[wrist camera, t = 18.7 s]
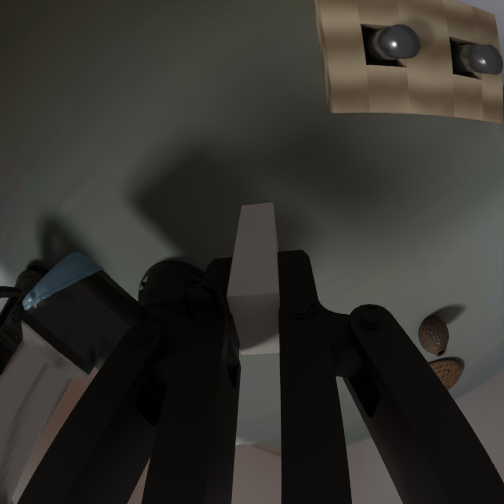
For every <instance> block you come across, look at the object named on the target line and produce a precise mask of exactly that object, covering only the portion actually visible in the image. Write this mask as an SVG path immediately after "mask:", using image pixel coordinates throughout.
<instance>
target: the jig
mask: <svg viewBox="0 0 504 504" xmlns="http://www.w3.org/2000/svg"><path fill="white" fill-rule="evenodd" d="M312 1H313V7H314V12H315V18H316V24H317V30H318V36H319V42H320V49H321V56H322V64H323V71H324V80H325V88H326V98H327V108H328V110H329V111H330V112H332V113H408V114H425V115H438V116H449V117H458V118H466V119H474V120H481V121H487V122H493V123H499V124H503V84H502V71H501V73H500V74H498V75H492V74H484V73H475V72H467V77H465V76H460V75H455V74H453V69H452V58H451V49H450V41H452V42H456V43H460V44H464V45H478V44H489V45H492V46H494V47H495V48H496V49H497V50H498V51H499V53H500V47H499V40H498V32H497V26H496V21H495V15H494V14H491V13H489V12H486V11H484V10H481V9H478V8H476V7H473V6H470V5H467V4H464V3H461V2H458V1H455V0H312ZM397 24H403V25H406V26H408V27H410V28H411V29H413V30H414V31H415V32H416V34H417V35H418V37H419V40H420V44H421V47H420V51H419V53H418V54H417V55H416V56H415V57H413V58H408V59H395V60H394V64H395V67H393V66H378V65H366V60H365V52H364V44H363V37H362V31H361V29H374V30H382V29H385V28H388V27H391V26H393V25H397Z"/></svg>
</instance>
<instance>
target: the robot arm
mask: <svg viewBox="0 0 504 504" xmlns="http://www.w3.org/2000/svg"><path fill="white" fill-rule="evenodd" d="M23 306H24V309H25V310H26V311H27V310H28V312H27V314H26V315H25V317H24V318H23V320H22V321H21V326H22V333H23V340H22V341H21V343H20V344H19V346H18V348H17V349H16V351H15V352H14V354H13V356H12V357H11V359H10V361H9V362H8V364H7V366H6V367H5V369H4V371H3V373H2V374H1V376H0V504H14V503H13V501H12V499H11V498H12V496H13V494H14V491H15V489H16V487H17V485H18V482H19V480H20V478H21V475H22V474H23V471H24V469H25V467H26V465H27V463H28V461H29V459H30V457H31V455H32V453H33V451H34V449H35V447H36V445H37V443H38V441H39V439H40V437H41V435H42V433H43V431H44V430H45V428H46V426H47V424H48V422H49V420H50V418H51V417H52V415H53V413H54V411H55V410H56V408H57V406H58V404H59V403H60V401H61V399H62V397H63V396H64V394H65V392H66V390H67V389H68V387H69V385H70V384H71V382H72V381H73V380H74V379H78V378H85V377H88V376H89V374H90V373H91V371H92V369H93V368H94V367H96V368H97V369H99V371H98V373H97V374H96V376H95V377H94V379H93V380H92V382H91V383H90V385H89V386H88V388H87V389H86V391H85V392H84V394H83V395H82V397H81V398H80V400H79V401H78V403H77V404H76V406H75V407H74V409H73V410H72V412H71V413H70V415H69V417H68V418H67V420H66V421H65V423H64V424H63V426H62V428H61V429H60V431H59V432H58V434H57V436H56V437H55V439H54V440H53V442H52V444H51V445H50V447H49V449H48V450H47V452H46V454H45V455H44V457H43V459H42V460H41V462H40V464H39V465H38V467H37V469H36V471H35V472H34V474H33V476H32V478H31V479H30V481H29V483H28V485H27V486H26V488H25V490H24V492H23V494H22V496H21V497H20V499H19V501H18V503H17V504H127V503H128V501H129V499H130V497H131V495H132V493H133V491H134V489H135V487H136V485H137V482H138V480H139V479H140V476H141V475H142V472H143V470H144V469H145V467H146V464H147V462H148V460H149V458H150V456H151V458H150V463H149V468H148V473H147V477H146V482H145V488H144V492H143V498H142V503H141V504H231V499H232V485H233V469H234V457H235V443H236V429H237V415H238V401H239V388H240V374H241V365H240V361H239V347H240V351H241V355H251V354H268V353H280V389H281V462H282V495H281V500H282V501H281V502H282V503H281V504H352V498H351V488H350V478H349V469H348V460H347V451H346V443H345V436H344V428H343V421H342V414H341V407H340V401H339V394H338V388H337V382H336V376H339V377H343V380H344V382H345V384H346V386H347V388H348V390H349V392H350V394H351V396H352V398H353V400H354V402H355V404H356V406H357V408H358V410H359V412H360V414H361V416H362V418H363V420H364V422H365V424H366V426H367V428H368V430H369V432H370V435H371V437H372V439H373V441H374V443H375V445H376V447H377V449H378V451H379V453H380V455H381V457H382V460H383V462H384V464H385V465H386V468H387V470H388V472H389V474H390V476H391V479H392V481H393V483H394V485H395V487H396V489H397V491H398V494H399V496H400V498H401V500H402V502H403V504H504V483H503V481H502V479H501V477H500V475H499V474H498V472H497V470H496V468H495V466H494V464H493V463H492V461H491V459H490V457H489V456H488V454H487V452H486V450H485V449H484V447H483V445H482V444H481V442H480V440H479V439H478V437H477V435H476V434H475V432H474V431H473V429H472V427H471V426H470V424H469V423H468V421H467V420H466V418H465V416H464V415H463V413H462V412H461V410H460V409H459V407H458V406H457V404H456V403H455V401H454V400H453V398H452V397H451V395H450V394H449V392H448V391H447V389H446V388H445V386H444V385H443V383H442V382H441V381H440V379H439V378H438V376H437V375H436V373H435V372H434V371H433V369H432V368H431V366H430V365H429V364H428V362H427V361H426V359H425V358H424V357H423V355H422V354H421V353H420V351H419V350H418V348H417V347H416V346H415V344H414V343H413V342H412V340H411V339H410V338H409V336H408V335H407V334H406V332H405V331H404V330H403V328H402V327H401V326H400V325H399V323H398V322H397V321H396V319H395V318H394V317H393V316H392V314H391V313H390V312H389V311H388V310H386V309H385V308H383V307H381V306H379V305H373V304H367V305H361V306H359V307H357V308H355V309H354V310H353V311H352V312H351V314H350V315H348V314H340V313H335V312H332V311H330V310H327V309H326V308H324V307H323V306H322V305H321V303H320V302H319V300H318V296H317V291H316V286H315V281H314V277H313V273H312V268H311V263H310V259H309V256H308V255H307V254H306V253H305V252H304V251H303V250H294V251H283V252H279V251H278V242H277V233H276V224H275V215H274V206H273V202H271V203H261V204H252V205H243V206H242V207H241V212H240V218H239V224H238V230H237V236H236V242H235V248H234V254H233V257H230V258H220V259H214V260H213V261H212V262H211V263H210V264H209V265H208V266H207V269H206V273H204V272H202V271H201V270H199V269H198V268H196V267H194V266H191V265H189V264H186V263H181V262H174V261H169V262H162V263H159V264H156V265H154V266H152V267H151V268H150V269H149V270H148V271H147V272H146V273H145V275H144V277H143V279H142V280H141V283H140V286H139V291H138V301H136V300H135V299H134V298H133V297H132V296H131V295H130V294H128V293H127V292H126V291H125V290H124V289H123V288H122V287H121V286H120V285H118V284H117V283H116V282H115V281H114V280H113V279H112V278H111V277H110V276H109V275H108V274H107V273H106V272H105V271H104V269H103V268H102V267H99V266H98V265H97V264H96V263H95V262H94V261H92V260H91V259H90V258H89V257H88V256H87V255H86V254H84V253H82V252H73V253H71V254H69V255H68V256H67V257H65V258H64V259H63V260H62V261H60V262H59V263H58V264H57V265H56V266H55V267H53V268H52V269H51V270H50V271H49V272H48V273H47V274H46V275H45V276H44V277H43V278H42V279H41V280H40V281H39V282H38V283H37V284H36V285H35V286H34V288H33V289H32V290H31V291H30V292H29V293H28V294H27V295H26V297H25V298H24V300H23Z"/></svg>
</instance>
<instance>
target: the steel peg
mask: <svg viewBox="0 0 504 504" xmlns="http://www.w3.org/2000/svg"><path fill="white" fill-rule="evenodd" d="M450 49H451V58H452V69H453V71H465V72H475V73H484V74H492V75H498V74H500V73H501V71H502V68H503V61H502V57H501V55H500V53H499V51H498V50H497V49H496V48H495V47H494V46H492V45H489V44H478V45H454V46H450Z"/></svg>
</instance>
